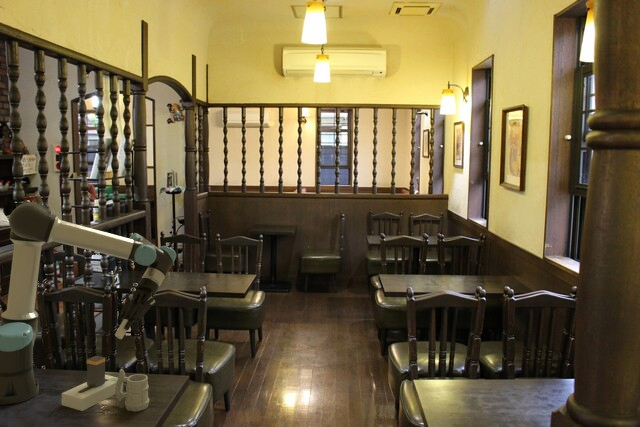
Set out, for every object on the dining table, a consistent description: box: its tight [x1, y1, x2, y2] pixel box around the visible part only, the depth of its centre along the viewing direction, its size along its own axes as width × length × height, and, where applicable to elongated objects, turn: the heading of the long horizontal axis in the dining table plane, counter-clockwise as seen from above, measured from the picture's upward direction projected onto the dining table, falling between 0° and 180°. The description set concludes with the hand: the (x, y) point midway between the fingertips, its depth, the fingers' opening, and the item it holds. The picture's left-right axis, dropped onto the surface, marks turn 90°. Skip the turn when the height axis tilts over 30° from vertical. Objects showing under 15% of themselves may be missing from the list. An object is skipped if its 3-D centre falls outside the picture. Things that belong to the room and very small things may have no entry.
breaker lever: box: [86, 355, 106, 387], centre depth 178 cm, size 4×4×9 cm
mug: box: [114, 368, 150, 412], centre depth 172 cm, size 8×12×12 cm, turn 78°
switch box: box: [61, 374, 124, 412], centre depth 177 cm, size 9×18×4 cm, turn 158°
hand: (118, 337), depth 186 cm, fingers closed
